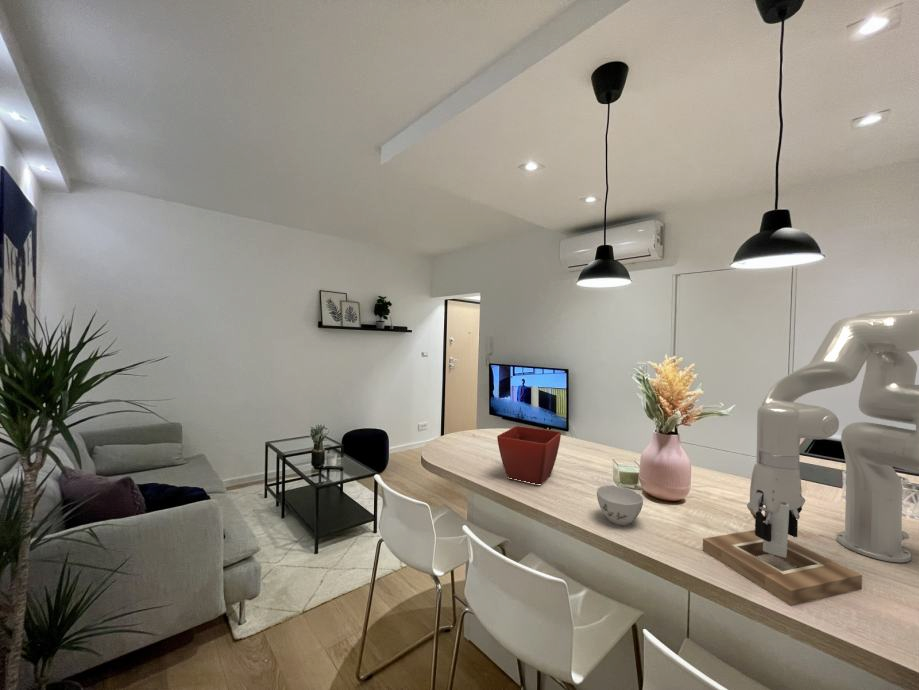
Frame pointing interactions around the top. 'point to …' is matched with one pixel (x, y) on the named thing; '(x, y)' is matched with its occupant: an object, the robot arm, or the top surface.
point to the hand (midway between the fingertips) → (776, 535)
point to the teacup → (619, 503)
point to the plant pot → (529, 453)
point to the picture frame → (790, 586)
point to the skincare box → (778, 532)
